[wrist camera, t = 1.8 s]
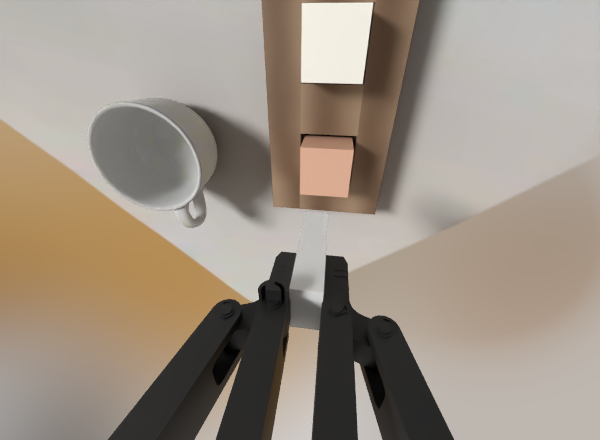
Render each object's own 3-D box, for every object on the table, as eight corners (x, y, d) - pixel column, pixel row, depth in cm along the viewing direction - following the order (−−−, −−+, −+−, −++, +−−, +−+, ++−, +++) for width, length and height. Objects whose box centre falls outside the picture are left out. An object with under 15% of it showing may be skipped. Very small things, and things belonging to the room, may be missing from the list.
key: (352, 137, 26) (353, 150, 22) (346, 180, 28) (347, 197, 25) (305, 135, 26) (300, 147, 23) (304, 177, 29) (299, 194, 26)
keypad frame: (471, -307, 14) (499, -385, 11) (372, 201, 32) (374, 214, 29) (257, -280, 15) (241, -344, 13) (278, 194, 33) (273, 206, 30)
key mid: (368, 10, 20) (373, 2, 17) (359, 79, 23) (362, 84, 19) (307, 10, 21) (301, 2, 17) (306, 77, 23) (301, 82, 20)
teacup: (124, 96, 28) (60, 110, 22) (213, 84, 27) (171, 95, 20) (173, 203, 36) (136, 237, 29) (244, 199, 34) (222, 235, 28)
